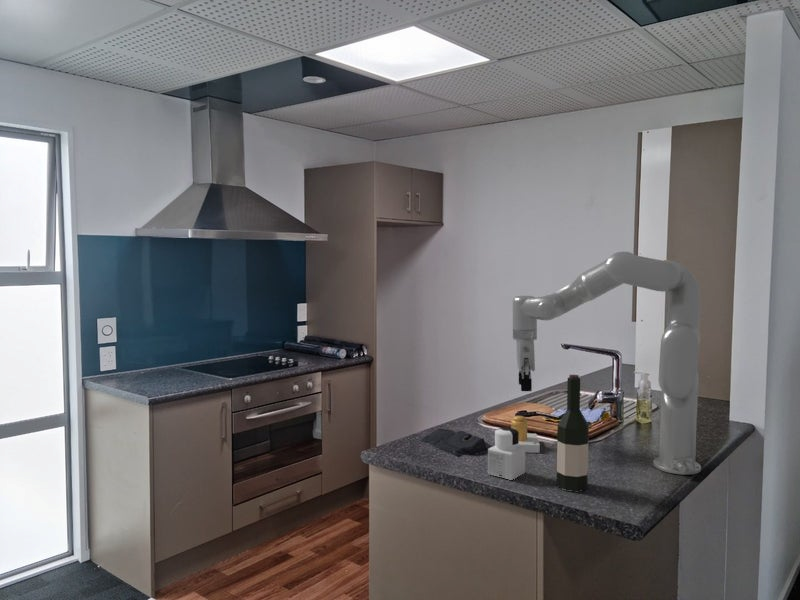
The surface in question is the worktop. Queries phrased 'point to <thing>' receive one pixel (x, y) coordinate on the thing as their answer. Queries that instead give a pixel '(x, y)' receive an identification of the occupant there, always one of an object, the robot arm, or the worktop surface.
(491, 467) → the container
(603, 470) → the worktop surface
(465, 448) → the black folded cloth
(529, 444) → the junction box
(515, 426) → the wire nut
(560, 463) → the wine bottle
